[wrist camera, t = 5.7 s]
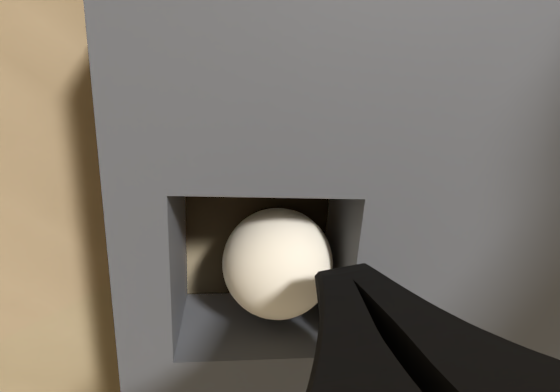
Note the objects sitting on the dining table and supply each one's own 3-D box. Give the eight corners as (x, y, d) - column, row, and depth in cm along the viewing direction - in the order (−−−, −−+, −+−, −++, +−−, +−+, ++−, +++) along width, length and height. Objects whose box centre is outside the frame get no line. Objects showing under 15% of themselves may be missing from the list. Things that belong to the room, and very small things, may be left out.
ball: (267, 240, 15) (228, 184, 13) (353, 248, 14) (328, 186, 11) (235, 325, 13) (182, 280, 11) (330, 347, 12) (294, 299, 9)
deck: (595, 27, 13) (722, 13, 9) (491, 384, 17) (552, 458, 14) (126, -12, 11) (79, -47, 7) (152, 401, 15) (129, 491, 12)
